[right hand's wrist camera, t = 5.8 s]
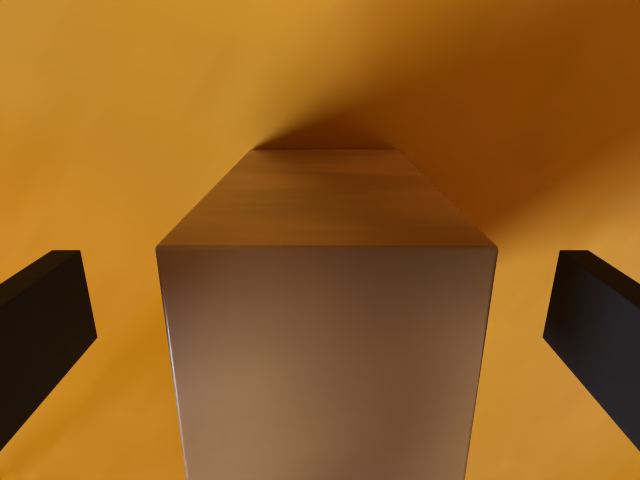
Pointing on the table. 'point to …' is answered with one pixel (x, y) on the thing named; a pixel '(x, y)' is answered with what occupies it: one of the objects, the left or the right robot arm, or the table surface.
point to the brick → (326, 321)
